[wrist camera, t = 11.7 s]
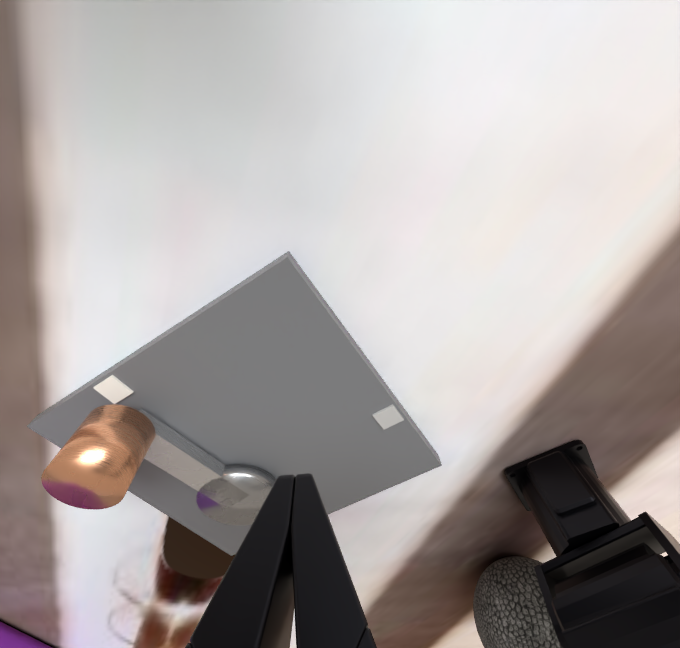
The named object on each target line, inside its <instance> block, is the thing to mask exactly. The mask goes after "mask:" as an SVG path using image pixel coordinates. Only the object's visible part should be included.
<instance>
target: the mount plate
mask: <svg viewBox="0 0 680 648" xmlns="http://www.w3.org/2000/svg"><path fill="white" fill-rule="evenodd" d="M110 404H116V405H123V406H127V407H131V408H133V409H136V410H139V409H140V408H142V409H143V410H145V411H146V412H148V413H149V414H151V415H152V416H154V417H155V418H157V419H158V420H160V421H161V422H162V423H164V424H165V425H167V426H168V427H170V428H171V429H173V430H174V431H176V432H177V433H179V434H180V435H182V436H183V437H185V438H186V439H188V440H189V441H190V442H192V443H193V444H195V445H196V446H198V447H199V448H201V449H202V450H204V451H205V452H207V453H208V454H210V455H211V456H213V457H214V458H216V459H217V460H218V461H220V462H221V463H223V464H224V465H229V464H247V465H252V466H256V467H259V468H261V469H263V470H265V471H267V472H269V473H270V474H271V475H273V476H274V478H275V479H277V478H278V477H279V476H280V475H295V477H296V475H298V474H307V473H311V474H312V475H313V477H314V479H315V482H316V485H317V487H318V490H319V493H320V496H321V498H322V501H323V504H324V506H325V509H326V512H327V515H328V514H330V513H332V512H334V511H337V510H339V509H341V508H344V507H346V506H348V505H351V504H353V503H355V502H358V501H360V500H362V499H365V498H367V497H369V496H372V495H374V494H376V493H379V492H381V491H383V490H386V489H388V488H390V487H393V486H395V485H397V484H400V483H402V482H404V481H406V480H409V479H411V478H413V477H416V476H418V475H420V474H423V473H425V472H427V471H430V470H432V469H434V468H437V467H439V466H441V462H440V459H439V456H438V454H437V453H436V451H435V450H434V449H433V447H432V446H431V445H430V443H429V442H428V441H427V439H426V438H425V436H424V435H423V434H422V432H421V431H420V430H419V428H418V427H417V426H416V424H415V423H414V421H413V420H412V419H411V417H410V416H409V415H408V413H407V412H406V411H405V409H404V408H403V406H402V405H401V404H400V402H399V401H398V400H397V398H396V397H395V396H394V394H393V393H392V391H391V390H390V389H389V387H388V386H387V385H386V383H385V382H384V381H383V379H382V378H381V376H380V375H379V374H378V372H377V371H376V370H375V368H374V367H373V365H372V364H371V363H370V361H369V360H368V359H367V357H366V356H365V355H364V353H363V352H362V350H361V349H360V348H359V346H358V345H357V344H356V342H355V341H354V340H353V338H352V337H351V335H350V334H349V333H348V331H347V330H346V329H345V327H344V326H343V325H342V323H341V322H340V320H339V319H338V318H337V316H336V315H335V314H334V312H333V311H332V310H331V308H330V307H329V305H328V304H327V303H326V301H325V300H324V299H323V297H322V296H321V295H320V293H319V292H318V290H317V289H316V288H315V286H314V285H313V284H312V282H311V281H310V280H309V278H308V277H307V275H306V274H305V273H304V271H303V270H302V269H301V267H300V266H299V265H298V263H297V262H296V260H295V259H294V258H293V256H292V255H291V254H290V252H289V251H288V252H287V253H285V254H284V255H282V256H281V257H279V258H278V259H276V260H275V261H273V262H272V263H270V264H269V265H267V266H265V267H264V268H262V269H261V270H259V271H258V272H256V273H255V274H253V275H252V276H250V277H249V278H247V279H246V280H244V281H243V282H241V283H239V284H238V285H236V286H235V287H233V288H232V289H230V290H229V291H227V292H226V293H224V294H223V295H221V296H220V297H218V298H216V299H215V300H213V301H212V302H210V303H209V304H207V305H206V306H204V307H203V308H201V309H200V310H198V311H197V312H195V313H193V314H192V315H190V316H189V317H187V318H186V319H184V320H183V321H181V322H180V323H178V324H177V325H175V326H174V327H172V328H171V329H169V330H167V331H166V332H164V333H163V334H161V335H160V336H158V337H157V338H155V339H154V340H152V341H151V342H149V343H148V344H146V345H144V346H143V347H141V348H140V349H138V350H137V351H135V352H134V353H132V354H131V355H129V356H128V357H126V358H125V359H123V360H121V361H120V362H118V363H117V364H115V365H114V366H112V367H111V368H109V369H108V370H106V371H105V372H103V373H102V374H100V375H99V376H97V377H95V378H94V379H92V380H91V381H89V382H88V383H86V384H85V385H83V386H82V387H80V388H79V389H77V390H76V391H74V392H72V393H71V394H69V395H68V396H66V397H65V398H63V399H62V400H60V401H59V402H57V403H56V404H54V405H53V406H51V407H49V408H48V409H46V410H45V411H43V412H42V413H40V414H39V415H37V416H36V417H35V418H34V419H33V420H32V422H31V423H30V424H29V425H28V426H27V427H28V428H30V429H31V430H33V431H35V432H36V433H38V434H39V435H41V436H43V437H44V438H46V439H47V440H49V441H50V442H52V443H54V444H55V445H57V446H58V447H60V448H62V447H63V446H64V445H65V444H66V442H67V441H68V440H69V439H70V437H71V436H72V435H73V434H74V432H75V431H76V430H77V428H78V427H79V426H80V425H81V423H82V422H83V421H84V420H85V418H86V417H87V416H88V415H89V413H90V412H91V411H92V410H94V409H95V408H97V407H100V406H103V405H110ZM128 491H130V492H131V493H133V494H134V495H136V496H138V497H139V498H141V499H142V500H144V501H145V502H147V503H149V504H150V505H152V506H153V507H155V508H157V509H158V510H160V511H161V512H163V513H164V514H166V515H168V516H169V517H171V518H172V519H174V520H176V521H177V522H179V523H180V524H182V525H183V526H185V527H187V528H188V529H190V530H191V531H193V532H195V533H196V534H198V535H199V536H201V537H202V538H204V539H206V540H207V541H209V542H211V543H212V544H214V545H215V546H217V547H218V548H220V549H221V550H223V551H225V552H226V553H228V554H229V555H231V556H232V555H235V554H236V553H237V551H238V549H239V547H240V545H241V544H242V542H243V540H244V538H245V536H246V534H247V533H248V531H249V529H250V527H251V525H252V524H251V525H229V524H224V523H220V522H217V521H215V520H213V519H211V518H209V517H208V516H206V515H205V514H204V513H203V512H202V511H201V510H200V509H199V507H198V505H197V502H196V497H197V493H198V491H197V490H195V489H194V488H192V487H190V486H189V485H187V484H185V483H184V482H182V481H180V480H179V479H177V478H176V477H174V476H172V475H171V474H169V473H167V472H166V471H164V470H162V469H161V468H159V467H157V466H156V465H154V464H153V463H151V462H149V461H148V460H146V459H143V461H142V463H141V465H140V467H139V469H138V471H137V473H136V475H135V477H134V478H133V480H132V482H131V484H130V486H129V488H128Z"/></svg>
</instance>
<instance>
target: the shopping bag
mask: <svg viewBox="0 0 680 648" xmlns="http://www.w3.org/2000/svg"><path fill="white" fill-rule="evenodd" d="M0 648H52V647H50V646H48V645H46V644H44V643H42V642H40V641H38V640H36V639H34V638H32V637H30V636H28V635H26V634H24V633H22V632H20V631H18V630H16V629H14V628H12V627H10V626H8V625H6V624H4V623H2V622H0Z"/></svg>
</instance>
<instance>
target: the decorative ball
mask: <svg viewBox="0 0 680 648" xmlns="http://www.w3.org/2000/svg"><path fill="white" fill-rule="evenodd" d="M540 563H541V562H539V561H536V560H533V559H530V558H526V557H518V556H512V557H505V558H502V559H499V560H497V561H495V562H493V563H492V564H491V565H489V566H488V567H487V568H486V569H485V570H484V572H483V573H482V574H481V576H480V578H479V580H478V582H477V585H476V588H475V593H474V601H473V610H474V618H475V623H476V627H477V631H478V634H479V636H480V639H481V641H482V643H483V646H484V647H485V648H561V647H560V644H559V641H558V638H557V636H556V633H555V630H554V627H553V624H552V621H551V618H550V616H549V613H548V610H547V607H546V604H545V601H544V598H543V595H542V592H541V590H540V587H539V584H538V581H537V579H538V578H537V575H536V572H535V569H534V566H536V565H538V564H540ZM541 564H543V563H541Z"/></svg>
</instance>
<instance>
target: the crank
mask: <svg viewBox="0 0 680 648" xmlns="http://www.w3.org/2000/svg"><path fill="white" fill-rule="evenodd" d="M143 459H146V460H148V461H149V462H151V463H153V464H154V465H156V466H157V467H159V468H161V469H162V470H164V471H166V472H167V473H169V474H171V475H172V476H174V477H176V478H177V479H179V480H180V481H182V482H184V483H185V484H187V485H189V486H190V487H192V488H194V489H195V490H197V491H198V493H197V497H196V502H197V505H198V507H199V509H200V510H201V511H202V512H203V513H204V514H205V515H206V516H208V517H209V518H211V519H213V520H215V521H217V522H220V523H224V524H229V525H251V524H252V523H253V521H254V520H255V518H256V516H257V514H258V512H259V510H260V508H261V507H262V505H263V503H264V501H265V499H266V497H267V496H268V494H269V492H270V490H271V488H272V486H273V484H274V483H275V481H276V479H275V478H274V476H273V475H271V474H270V473H269V472H267V471H265V470H263V469H261V468H259V467H256V466H252V465H247V464H229V465H224V464H223V463H221V462H220V461H218V460H217V459H216V458H214V457H213V456H211V455H210V454H208V453H207V452H205V451H204V450H202V449H201V448H199V447H198V446H196V445H195V444H193V443H192V442H190V441H189V440H188V439H186V438H185V437H183V436H182V435H180V434H179V433H177V432H176V431H174V430H173V429H171V428H170V427H168V426H167V425H165V424H164V423H162V422H161V421H160V420H158V419H157V418H155V417H154V416H152V415H151V414H149V413H148V412H146V411H145V410H143V409H142V408H140V409H139V410H136V409H133V408H131V407H127V406H123V405H116V404H110V405H103V406H100V407H97V408H95V409H94V410H92V411H91V412H90V413H89V415H88V416H87V417H86V418H85V420H84V421H83V422H82V423H81V425H80V426H79V427H78V428H77V430H76V431H75V432H74V434H73V435H72V436H71V437H70V439H69V440H68V441H67V442H66V444H65V445H64V446H63V447H62V449H61V450H60V451H59V452H58V454H57V455H56V456H55V458H54V459H53V460H52V461H51V463H50V464H49V465H48V466H47V468H46V469H45V470H44V472H43V474H42V477H41V480H42V484H43V486H44V488H45V489H46V491H47V492H48V493H49V494H50V495H52V496H53V497H54V498H56V499H57V500H59V501H61V502H63V503H65V504H68V505H71V506H74V507H78V508H83V509H104V508H109V507H112V506H114V505H116V504H118V503H119V502H120V501H121V500H122V499H123V497H124V496H125V494H126V492H127V490H128V488H129V486H130V484H131V482H132V480H133V478H134V477H135V475H136V473H137V471H138V469H139V467H140V465H141V463H142V461H143Z"/></svg>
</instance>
